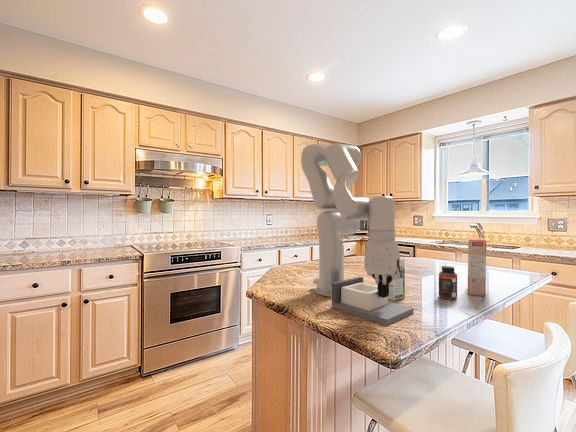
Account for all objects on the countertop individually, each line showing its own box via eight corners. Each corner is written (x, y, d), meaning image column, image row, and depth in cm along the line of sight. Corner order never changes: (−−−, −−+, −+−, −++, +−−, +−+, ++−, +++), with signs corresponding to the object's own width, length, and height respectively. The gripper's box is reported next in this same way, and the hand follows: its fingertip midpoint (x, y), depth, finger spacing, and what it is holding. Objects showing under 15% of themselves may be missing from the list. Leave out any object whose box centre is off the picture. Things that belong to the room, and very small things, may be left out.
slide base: (331, 307, 97) (331, 283, 97) (359, 298, 106) (359, 276, 106) (387, 325, 82) (387, 296, 81) (413, 313, 91) (413, 287, 91)
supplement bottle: (459, 300, 104) (460, 268, 104) (441, 299, 105) (441, 268, 105) (453, 296, 110) (454, 265, 110) (436, 295, 111) (436, 265, 111)
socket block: (341, 302, 97) (341, 287, 97) (360, 296, 103) (360, 282, 103) (368, 310, 89) (368, 294, 88) (388, 303, 95) (388, 288, 95)
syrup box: (394, 301, 104) (394, 259, 104) (381, 296, 109) (381, 257, 109) (405, 298, 107) (405, 258, 107) (392, 294, 112) (392, 256, 112)
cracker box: (486, 297, 108) (487, 240, 108) (467, 295, 111) (467, 239, 111) (485, 289, 120) (485, 237, 120) (467, 287, 123) (468, 236, 123)
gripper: (354, 236, 94) (355, 294, 94) (398, 237, 83) (400, 303, 82) (368, 235, 99) (369, 290, 99) (411, 236, 88) (413, 299, 87)
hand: (383, 296), depth 90 cm, fingers closed
